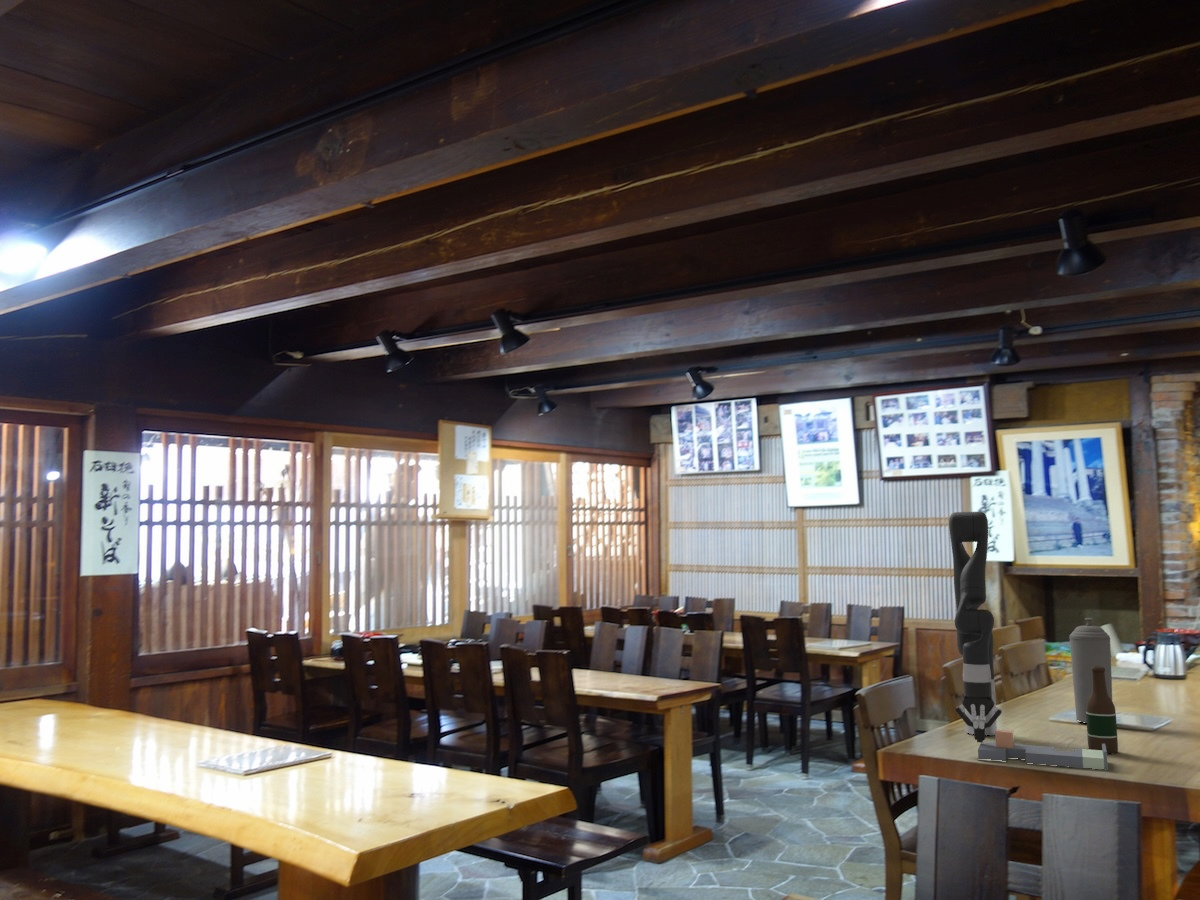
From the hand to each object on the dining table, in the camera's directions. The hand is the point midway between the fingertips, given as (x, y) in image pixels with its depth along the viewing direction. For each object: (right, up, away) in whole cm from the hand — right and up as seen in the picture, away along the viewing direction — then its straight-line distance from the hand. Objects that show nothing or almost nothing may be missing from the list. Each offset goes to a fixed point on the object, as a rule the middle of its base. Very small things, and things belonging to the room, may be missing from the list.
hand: (980, 741), depth 278 cm
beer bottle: (+37, -4, +3) cm, 37 cm away
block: (+6, 0, -3) cm, 7 cm away
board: (+13, -3, -9) cm, 16 cm away
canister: (+59, -9, +51) cm, 78 cm away
